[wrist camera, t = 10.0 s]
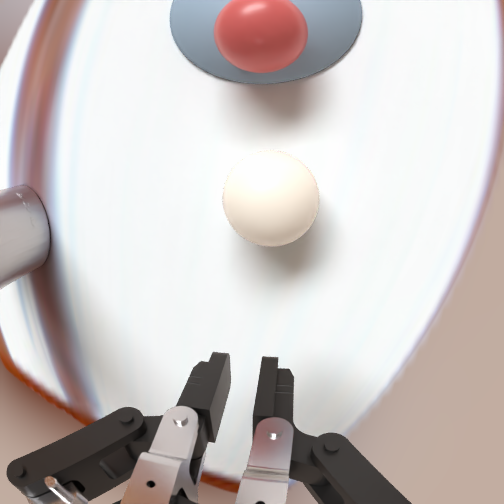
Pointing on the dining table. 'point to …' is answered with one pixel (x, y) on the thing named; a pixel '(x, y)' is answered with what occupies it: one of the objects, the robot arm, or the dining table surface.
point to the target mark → (309, 62)
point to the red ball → (260, 34)
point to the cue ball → (270, 198)
